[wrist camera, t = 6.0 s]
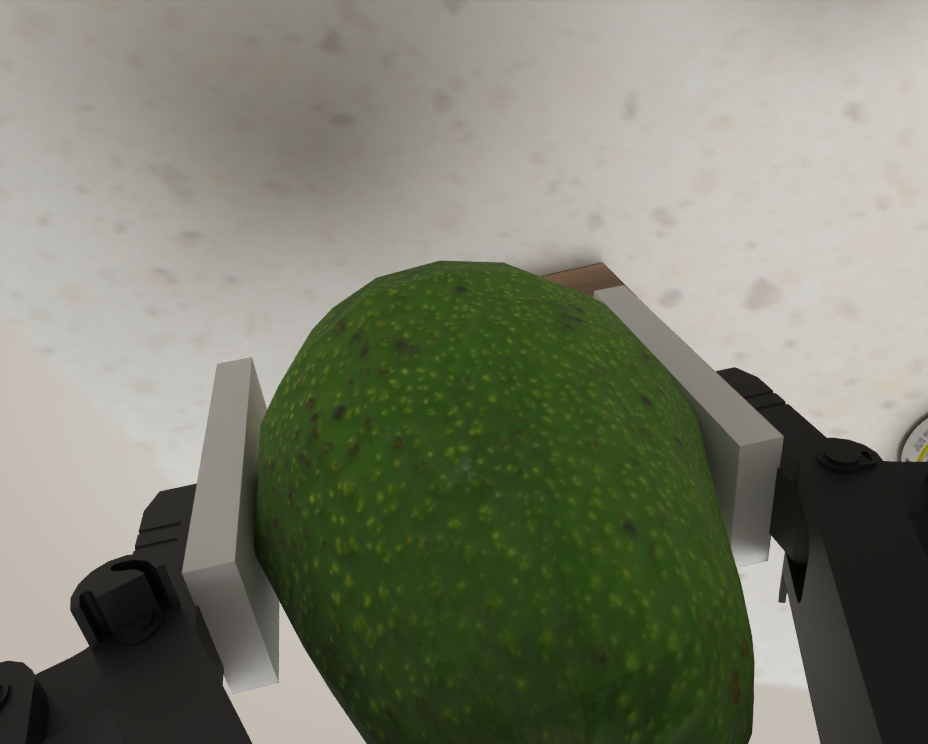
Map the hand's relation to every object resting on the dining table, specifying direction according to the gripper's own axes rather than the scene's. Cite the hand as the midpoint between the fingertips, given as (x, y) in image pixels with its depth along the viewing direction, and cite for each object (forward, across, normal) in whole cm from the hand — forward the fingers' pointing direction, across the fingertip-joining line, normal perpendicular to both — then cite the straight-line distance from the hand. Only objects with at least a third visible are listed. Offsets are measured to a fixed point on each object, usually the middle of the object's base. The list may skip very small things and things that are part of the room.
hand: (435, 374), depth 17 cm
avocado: (+1, 0, 0) cm, 1 cm away
